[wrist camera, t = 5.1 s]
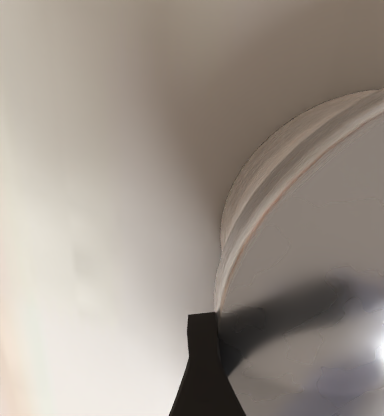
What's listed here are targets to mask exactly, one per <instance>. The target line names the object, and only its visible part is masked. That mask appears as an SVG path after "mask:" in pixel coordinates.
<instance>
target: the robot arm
mask: <svg viewBox="0 0 384 416" xmlns="http://www.w3.org/2000/svg"><path fill="white" fill-rule="evenodd" d="M187 337H188V349H189V359H188V363H187V366H186V369H185V373H184V376H183V378H182V381H181V384H180V387H179V390H178V393H177V396H176V399H175V401H174V404H173V406H172V409H171V411H170V414H169V416H246V414H245V412H244V410H243V408H242V406H241V404H240V402H239V400H238V398H237V396H236V394H235V392H234V390H233V388H232V386H231V384H230V382H229V380H228V378H227V375H226V373H225V371H224V368H223V366H222V364H221V357H220V350H219V340H218V330H217V321H216V313H215V312H210V313H201V314H192V315H188V326H187Z"/></svg>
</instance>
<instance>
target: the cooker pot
mask: <svg viewBox="0 0 384 416" xmlns="http://www.w3.org/2000/svg"><path fill="white" fill-rule="evenodd" d="M375 91H377V90H367V91H362V92H357V93H352V94H348V95H344V96H341V97H338V98H335V99H332V100H329V101H326V102H324V103H322V104H320V105H318V106H315V107H313V108H311V109H309V110H307V111H305V112H303V113H302V114H300V115H299V116H297V117H295V118H294V119H292V120H291V121H289V122H288V123H286V124H285V125H283V126H282V127H281V128H280V129H279V130H277V131H276V132H275V133H274V134H272V135H271V136H270V137H269V138H268V139H267V140H266V141H265V142H264V143H263V144H262V145H261V146H260V147H259V148H258V149H257V150H256V151H255V152H254V153H253V155H252V156H251V157H250V159H249V160H248V161H247V163H246V164H245V165H244V167H243V168H242V170H241V171H240V173H239V175H238V176H237V178H236V180H235V182H234V183H233V185H232V188H231V190H230V192H229V195H228V197H227V200H226V203H225V207H224V210H223V214H222V220H221V228H220V243H221V250H222V251H223V248H224V246H225V243H226V241H227V239H228V237H229V235H230V232H231V230H232V228H233V226H234V224H235V222H236V220H237V218H238V217H239V215H240V214H241V212H242V210H243V209H244V207H245V206H246V204H247V202H248V201H249V199H250V198H251V196H252V195H253V193H254V192H255V191H256V190H257V188H258V187H259V186H260V185H261V184H262V182H263V181H264V180H265V179H266V177H267V176H268V175H269V174H270V172H271V171H272V170H273V169H274V168H275V167H276V166H277V165H278V164H279V163H280V162H281V161H282V160H283V159H284V158H285V157H286V156H287V155H288V154H289V153H290V152H291V151H292V150H293V149H294V148H295V147H296V146H297V145H298V144H299V143H300V142H302V141H303V140H304V139H305V138H307V137H308V136H309V135H311V134H312V133H313V132H314V131H316V130H317V129H318V128H320V127H321V126H322V125H323V124H325V123H326V122H327V121H328V120H330V119H331V118H332V117H334V116H335V115H337V114H339V113H340V112H342V111H343V110H345V109H347V108H348V107H350V106H351V105H353V104H355V103H356V102H358V101H360V100H361V99H363V98H364V97H366V96H368V95H369V94H371V93H373V92H375Z"/></svg>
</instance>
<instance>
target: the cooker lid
mask: <svg viewBox="0 0 384 416" xmlns="http://www.w3.org/2000/svg"><path fill="white" fill-rule="evenodd" d="M214 311H215V313H216V321H217V330H218V340H219V350H220V357H221V364H222V366H223V368H224V371H225V373H226V375H227V378H228V380H229V382H230V384H231V386H232V388H233V390H234V392H235V394H236V396H237V398H238V400H239V402H240V404H241V406H242V408H243V410H244V412H245V414H246V416H384V88H382V89H380V90H377V91H375V92H373V93H371V94H369V95H368V96H366V97H364V98H363V99H361V100H360V101H358V102H356V103H355V104H353V105H351V106H350V107H348V108H347V109H345V110H343V111H342V112H340V113H339V114H337V115H335V116H334V117H332V118H331V119H330V120H328V121H327V122H326V123H325V124H323V125H322V126H321V127H320V128H318V129H317V130H316V131H314V132H313V133H312V134H311V135H309V136H308V137H307V138H305V139H304V140H303V141H302V142H300V143H299V144H298V145H297V146H296V147H295V148H294V149H293V150H292V151H291V152H290V153H289V154H288V155H287V156H286V157H285V158H284V159H283V160H282V161H281V162H280V163H279V164H278V165H277V166H276V167H275V168H274V169H273V170H272V171H271V172H270V174H269V175H268V176H267V177H266V179H265V180H264V181H263V182H262V184H261V185H260V186H259V187H258V188H257V190H256V191H255V192H254V193H253V195H252V196H251V198H250V199H249V201H248V202H247V204H246V206H245V207H244V209H243V210H242V212H241V214H240V215H239V217H238V218H237V220H236V222H235V224H234V226H233V228H232V230H231V232H230V235H229V237H228V239H227V241H226V243H225V246H224V248H223V251H222V255H221V258H220V262H219V265H218V269H217V272H216V280H215V288H214Z"/></svg>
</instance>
